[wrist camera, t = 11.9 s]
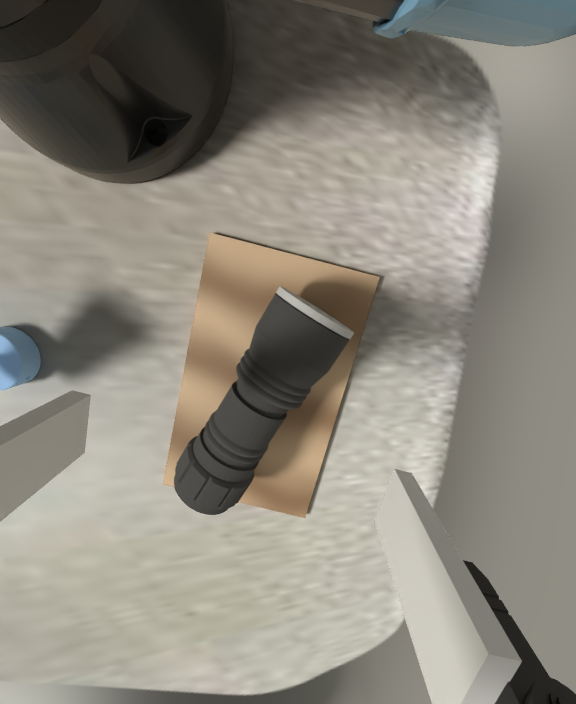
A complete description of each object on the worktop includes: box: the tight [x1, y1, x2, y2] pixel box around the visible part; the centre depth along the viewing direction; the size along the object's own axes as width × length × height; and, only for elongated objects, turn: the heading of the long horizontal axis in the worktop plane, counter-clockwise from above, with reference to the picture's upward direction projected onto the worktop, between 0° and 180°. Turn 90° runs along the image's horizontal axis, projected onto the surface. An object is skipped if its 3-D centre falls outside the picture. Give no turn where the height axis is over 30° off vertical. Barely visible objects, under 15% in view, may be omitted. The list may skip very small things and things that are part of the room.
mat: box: [163, 233, 380, 518], centre depth 23 cm, size 20×12×1 cm, turn 166°
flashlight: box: [174, 286, 354, 515], centre depth 21 cm, size 15×5×5 cm, turn 149°
